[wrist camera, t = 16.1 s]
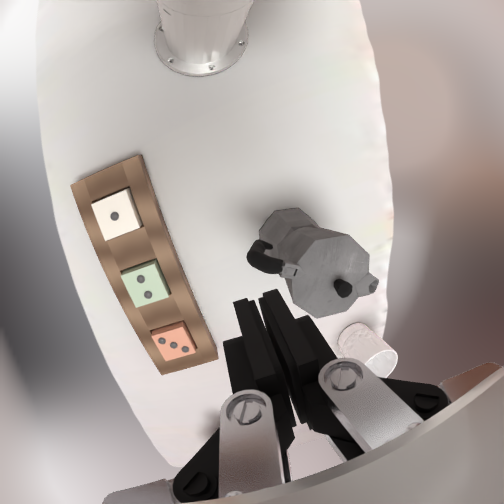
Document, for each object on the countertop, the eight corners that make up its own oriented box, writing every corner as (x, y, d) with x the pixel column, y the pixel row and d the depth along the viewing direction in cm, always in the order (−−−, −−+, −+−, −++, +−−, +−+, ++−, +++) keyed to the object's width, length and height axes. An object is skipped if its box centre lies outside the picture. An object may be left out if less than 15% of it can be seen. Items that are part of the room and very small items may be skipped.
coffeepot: (336, 218, 43) (412, 258, 26) (316, 275, 46) (376, 337, 29) (239, 190, 39) (274, 218, 22) (221, 255, 42) (241, 323, 25)
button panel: (78, 182, 34) (70, 185, 31) (141, 155, 35) (137, 155, 32) (162, 363, 46) (161, 375, 43) (216, 347, 47) (218, 359, 44)
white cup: (352, 314, 50) (380, 344, 41) (377, 327, 52) (405, 355, 43) (326, 347, 51) (349, 381, 42) (353, 357, 54) (377, 388, 44)
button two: (125, 266, 38) (120, 276, 35) (157, 255, 39) (154, 264, 35) (139, 297, 40) (135, 308, 37) (170, 286, 40) (168, 297, 37)
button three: (153, 324, 42) (151, 337, 39) (183, 315, 42) (182, 327, 39) (166, 348, 44) (165, 362, 40) (195, 340, 44) (195, 353, 41)
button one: (98, 200, 35) (90, 204, 31) (131, 187, 35) (125, 190, 32) (111, 234, 36) (104, 241, 33) (143, 222, 37) (139, 228, 34)
